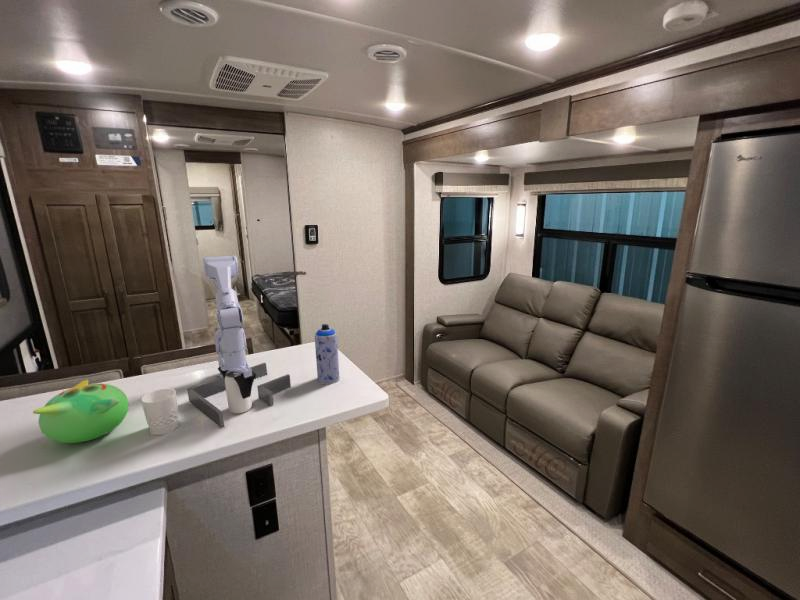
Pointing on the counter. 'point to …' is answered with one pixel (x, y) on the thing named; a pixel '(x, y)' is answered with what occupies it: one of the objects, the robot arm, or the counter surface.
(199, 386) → the rail channel
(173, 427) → the white cup
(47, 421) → the toy bird
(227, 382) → the can
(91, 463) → the counter surface
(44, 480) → the counter surface
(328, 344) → the aerosol can
